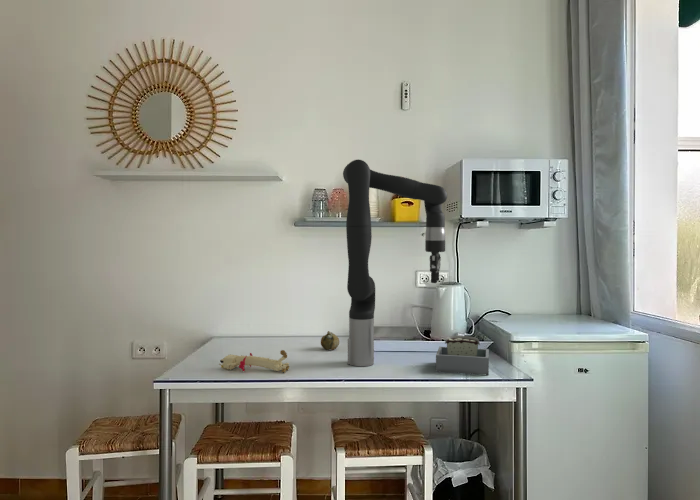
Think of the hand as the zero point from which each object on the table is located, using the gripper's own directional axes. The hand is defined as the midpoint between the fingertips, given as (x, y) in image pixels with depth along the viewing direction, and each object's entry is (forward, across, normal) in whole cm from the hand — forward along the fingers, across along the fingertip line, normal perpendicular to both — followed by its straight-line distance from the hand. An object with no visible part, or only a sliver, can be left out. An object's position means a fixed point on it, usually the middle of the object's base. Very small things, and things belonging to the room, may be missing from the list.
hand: (435, 281), depth 207 cm
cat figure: (+31, -30, +62) cm, 75 cm away
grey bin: (+30, -10, -11) cm, 34 cm away
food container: (+29, -8, -11) cm, 32 cm away
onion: (+30, +8, +44) cm, 54 cm away
